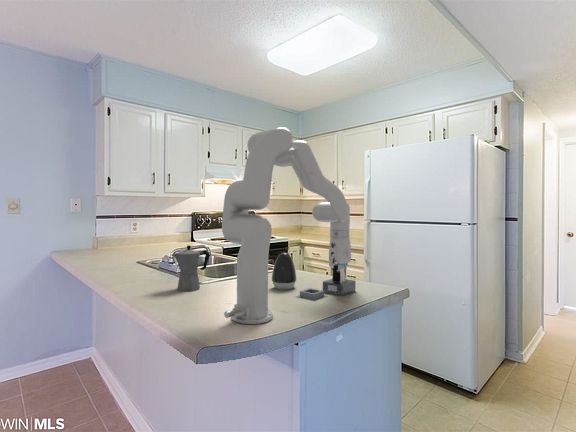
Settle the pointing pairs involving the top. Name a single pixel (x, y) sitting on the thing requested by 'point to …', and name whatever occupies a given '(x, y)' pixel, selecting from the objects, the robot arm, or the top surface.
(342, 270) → the blue capped white bottle
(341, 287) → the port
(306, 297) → the grey square open box
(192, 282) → the coffeepot
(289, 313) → the top surface
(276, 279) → the dark egg-shaped speaker
